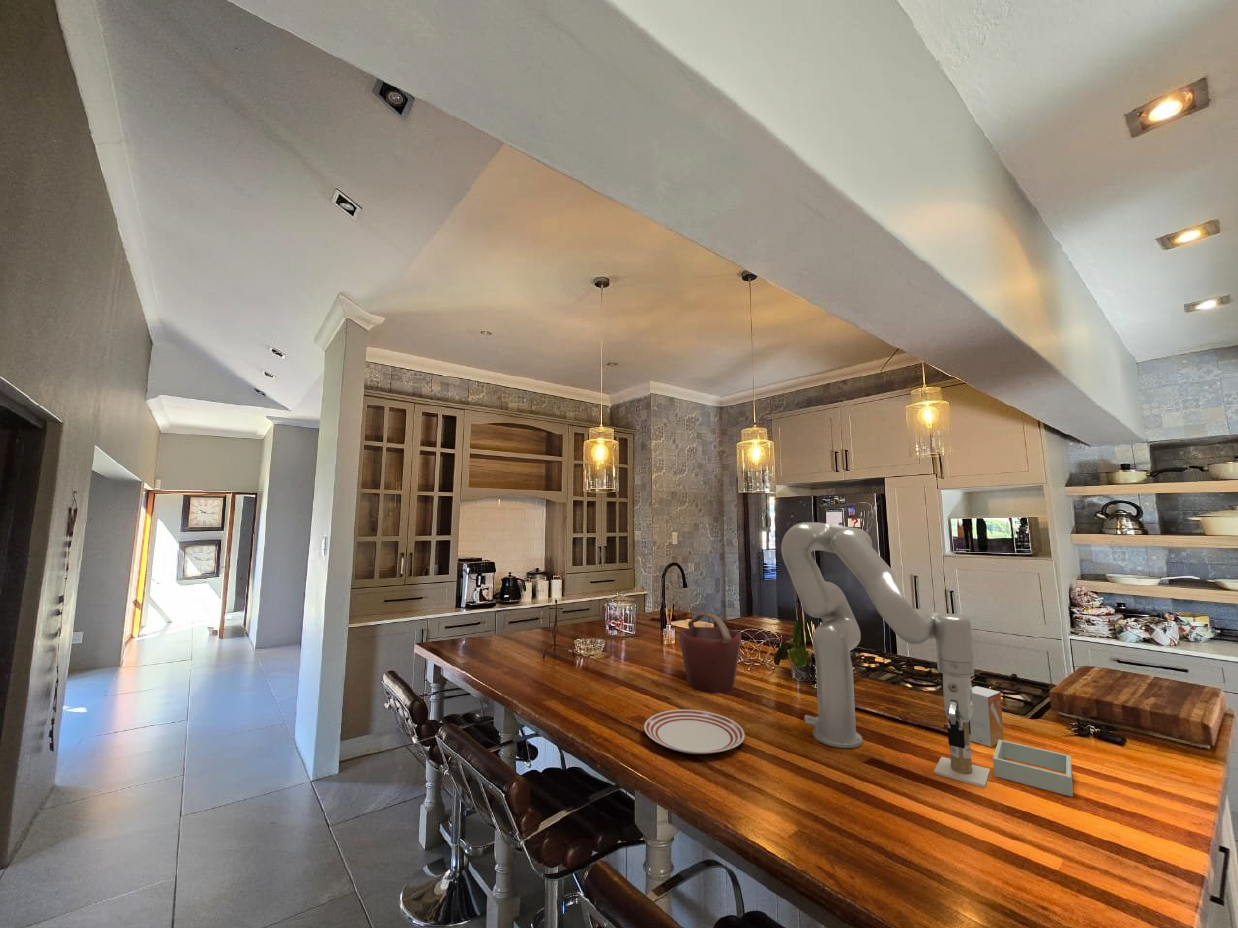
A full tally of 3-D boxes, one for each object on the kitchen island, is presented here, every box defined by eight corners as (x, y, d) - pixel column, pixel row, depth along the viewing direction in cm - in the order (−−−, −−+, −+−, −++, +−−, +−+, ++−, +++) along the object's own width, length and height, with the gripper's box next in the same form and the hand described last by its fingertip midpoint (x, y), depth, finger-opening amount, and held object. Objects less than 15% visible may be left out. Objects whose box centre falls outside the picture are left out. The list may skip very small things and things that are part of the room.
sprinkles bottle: (975, 775, 121) (971, 715, 123) (953, 772, 123) (949, 712, 124) (968, 766, 125) (965, 708, 127) (947, 763, 127) (944, 706, 128)
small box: (991, 747, 137) (988, 696, 139) (965, 739, 142) (962, 690, 144) (1004, 740, 142) (1001, 691, 143) (978, 732, 147) (975, 685, 148)
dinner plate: (763, 739, 143) (763, 726, 143) (708, 774, 123) (708, 759, 124) (682, 713, 162) (682, 702, 162) (623, 740, 142) (623, 727, 142)
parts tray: (994, 775, 122) (992, 758, 123) (999, 755, 133) (998, 739, 133) (1072, 796, 113) (1071, 777, 113) (1072, 773, 124) (1070, 755, 124)
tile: (934, 773, 123) (933, 770, 123) (941, 758, 131) (941, 756, 131) (985, 787, 117) (984, 784, 117) (989, 771, 124) (989, 768, 124)
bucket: (675, 675, 199) (674, 609, 202) (731, 674, 202) (729, 608, 204) (691, 697, 175) (690, 622, 178) (754, 695, 178) (752, 620, 180)
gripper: (968, 677, 117) (973, 756, 116) (978, 661, 130) (983, 732, 129) (930, 671, 122) (935, 747, 120) (943, 656, 135) (947, 724, 133)
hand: (960, 739), depth 125 cm, fingers open, 9 cm apart
